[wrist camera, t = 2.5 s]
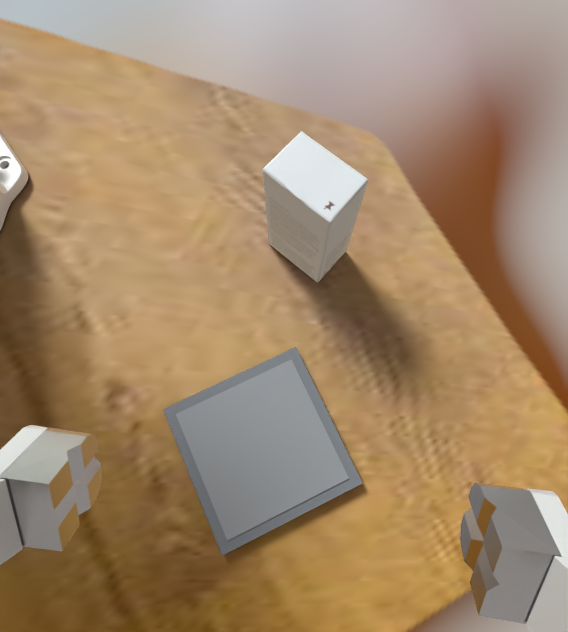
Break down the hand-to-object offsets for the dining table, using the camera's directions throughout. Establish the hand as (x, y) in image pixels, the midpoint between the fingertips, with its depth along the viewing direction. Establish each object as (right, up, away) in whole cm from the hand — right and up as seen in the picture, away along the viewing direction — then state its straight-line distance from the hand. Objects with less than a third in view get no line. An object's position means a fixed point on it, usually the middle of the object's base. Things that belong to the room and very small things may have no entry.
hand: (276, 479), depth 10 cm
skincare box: (+2, +10, +32) cm, 34 cm away
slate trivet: (-2, -7, +28) cm, 29 cm away
